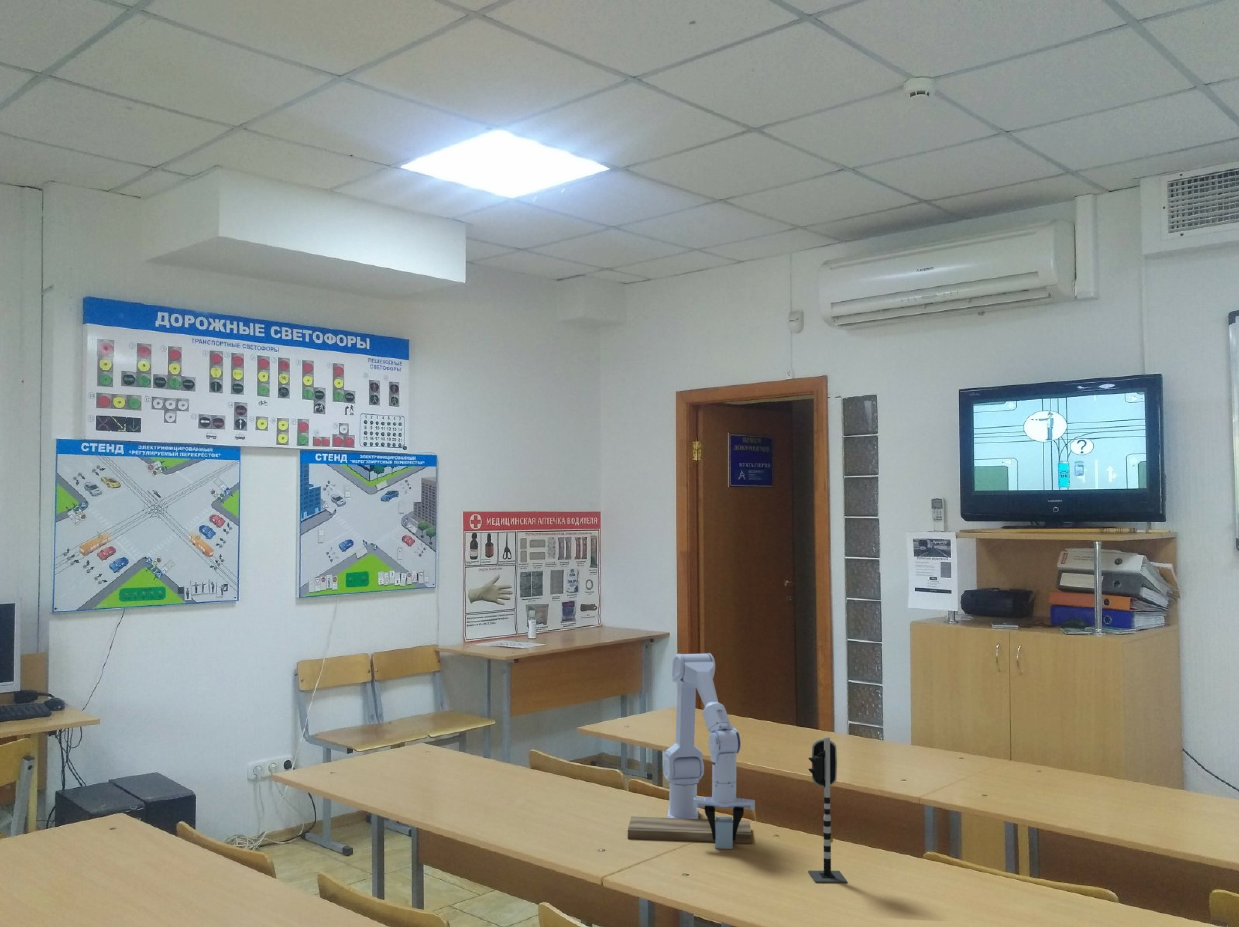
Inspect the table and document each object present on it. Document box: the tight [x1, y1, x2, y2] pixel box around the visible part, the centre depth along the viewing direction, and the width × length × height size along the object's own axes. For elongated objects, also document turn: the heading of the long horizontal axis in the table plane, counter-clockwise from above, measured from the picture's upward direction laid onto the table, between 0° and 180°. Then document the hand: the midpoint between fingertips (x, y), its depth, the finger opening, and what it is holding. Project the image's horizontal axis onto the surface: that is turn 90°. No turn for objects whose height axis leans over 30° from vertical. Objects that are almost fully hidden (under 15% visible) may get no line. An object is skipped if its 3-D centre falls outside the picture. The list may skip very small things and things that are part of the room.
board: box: [627, 816, 753, 844], centre depth 249 cm, size 12×30×2 cm, turn 85°
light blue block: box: [714, 816, 734, 850], centre depth 241 cm, size 8×4×6 cm, turn 175°
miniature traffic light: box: [807, 736, 848, 884], centre depth 219 cm, size 8×8×30 cm
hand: (723, 839), depth 239 cm, fingers closed on light blue block, 4 cm apart
